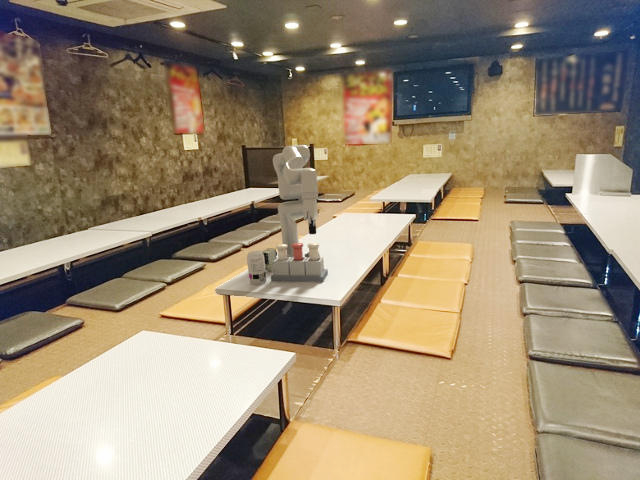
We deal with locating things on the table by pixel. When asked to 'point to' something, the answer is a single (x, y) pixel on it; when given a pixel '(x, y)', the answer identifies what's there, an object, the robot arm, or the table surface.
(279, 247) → the ivory plunger
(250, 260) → the supplement can
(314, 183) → the robot arm
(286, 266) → the grey compartment rack
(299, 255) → the red rounded knob
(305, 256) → the electrical switch
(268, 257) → the pneumatic valve
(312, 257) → the ivory plunger
